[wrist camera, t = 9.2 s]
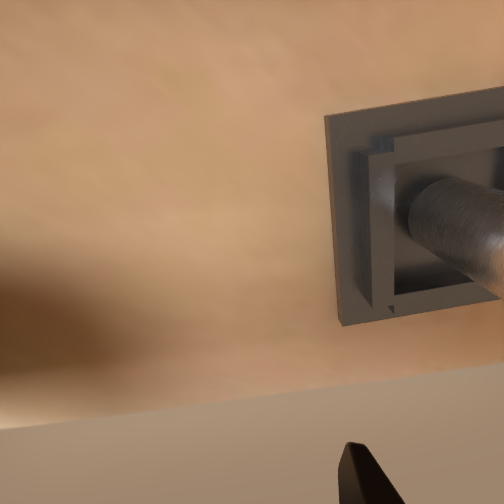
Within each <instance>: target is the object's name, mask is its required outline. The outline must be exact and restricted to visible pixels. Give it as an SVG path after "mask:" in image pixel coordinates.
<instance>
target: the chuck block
mask: <svg viewBox="0 0 504 504" xmlns="http://www.w3.org/2000/svg"><path fill="white" fill-rule="evenodd" d="M324 120H325V134H326V148H327V162H328V177H329V191H330V205H331V219H332V234H333V248H334V262H335V277H336V291H337V305H338V319H339V321H340V323H341V325H342V327H343V326H348V325H354V324H360V323H366V322H371V321H377V320H383V319H389V318H394V317H400V316H406V315H412V314H417V313H423V312H429V311H435V310H440V309H446V308H452V307H458V306H463V305H469V304H475V303H480V302H486V301H492V300H498V299H501V298H499V297H498V296H496V295H495V294H493V293H492V292H490V291H489V290H487V289H486V288H484V287H483V286H481V285H480V284H478V283H477V282H475V281H474V280H472V279H471V278H469V277H468V276H466V275H465V274H463V273H461V272H460V271H458V270H457V269H455V268H454V267H452V266H451V265H449V264H448V263H446V262H445V261H443V260H442V259H440V258H439V257H437V256H436V255H434V254H433V253H431V252H430V251H428V250H427V249H425V248H424V247H422V246H421V245H419V244H418V243H417V242H416V241H415V240H414V239H413V237H412V236H411V234H410V231H409V226H408V217H409V212H410V209H411V207H412V204H413V203H414V201H415V199H416V198H417V196H418V195H419V194H420V193H421V192H422V191H423V190H424V189H425V188H426V187H428V186H429V185H430V184H432V183H434V182H436V181H439V180H442V179H446V178H459V179H463V180H466V181H470V182H473V183H477V184H480V185H484V186H488V187H491V188H495V189H498V190H502V191H504V86H501V87H495V88H489V89H483V90H477V91H471V92H465V93H459V94H453V95H447V96H441V97H435V98H429V99H423V100H416V101H410V102H404V103H398V104H392V105H386V106H380V107H374V108H368V109H362V110H356V111H350V112H344V113H338V114H332V115H326V116H324Z"/></svg>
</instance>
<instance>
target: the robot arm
mask: <svg viewBox="0 0 504 504" xmlns="http://www.w3.org/2000/svg"><path fill="white" fill-rule="evenodd" d="M338 485H339V503H340V504H405V503H404V501H403V500H402V498H401V497H400V495H399V494H398V492H397V491H396V489H395V488H394V486H393V485H392V483H391V482H390V480H389V479H388V477H387V476H386V475H385V473H384V472H383V470H382V469H381V467H380V466H379V464H378V463H377V461H376V460H375V458H374V457H373V455H372V454H371V452H370V451H369V449H368V448H367V447H366V446H365V445H364V444H360V443H354V442H348V443H347V444H346V445H345V448H344V451H343V454H342V457H341V460H340V463H339V468H338Z"/></svg>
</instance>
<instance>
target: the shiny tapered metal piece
mask: <svg viewBox="0 0 504 504" xmlns="http://www.w3.org/2000/svg"><path fill="white" fill-rule="evenodd" d="M408 226H409V231H410V234H411V236H412V237H413V239H414V240H415V241H416V242H417V243H418V244H419V245H421V246H422V247H424V248H425V249H427V250H428V251H430V252H431V253H433V254H434V255H436V256H437V257H439V258H440V259H442V260H443V261H445V262H446V263H448V264H449V265H451V266H452V267H454V268H455V269H457V270H458V271H460V272H461V273H463V274H465V275H466V276H468V277H469V278H471V279H472V280H474V281H475V282H477V283H478V284H480V285H481V286H483V287H484V288H486V289H487V290H489V291H490V292H492V293H493V294H495V295H496V296H498V297H499V298H501V299H502V300H504V191H502V190H498V189H495V188H491V187H488V186H484V185H480V184H477V183H473V182H470V181H466V180H463V179H459V178H446V179H442V180H439V181H436V182H434V183H432V184H430V185H429V186H428V187H426V188H425V189H424V190H423V191H422V192H421V193H420V194H419V195H418V196H417V198H416V199H415V201H414V203H413V204H412V207H411V209H410V212H409V217H408Z"/></svg>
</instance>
